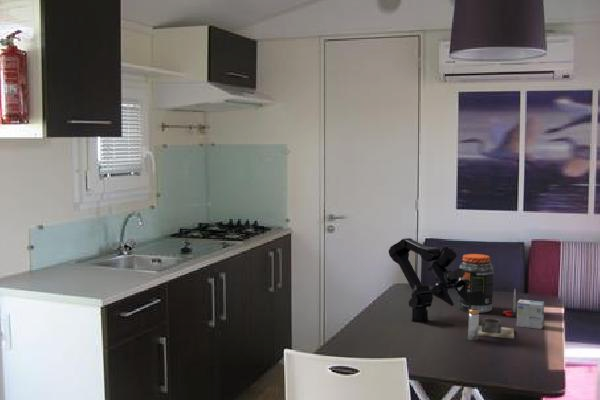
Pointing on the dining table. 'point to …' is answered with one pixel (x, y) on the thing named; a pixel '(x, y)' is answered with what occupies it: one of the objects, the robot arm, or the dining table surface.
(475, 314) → the pin
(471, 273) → the supplement tub
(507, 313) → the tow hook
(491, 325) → the block
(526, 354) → the dining table surface
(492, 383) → the dining table surface
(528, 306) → the light bulb box
